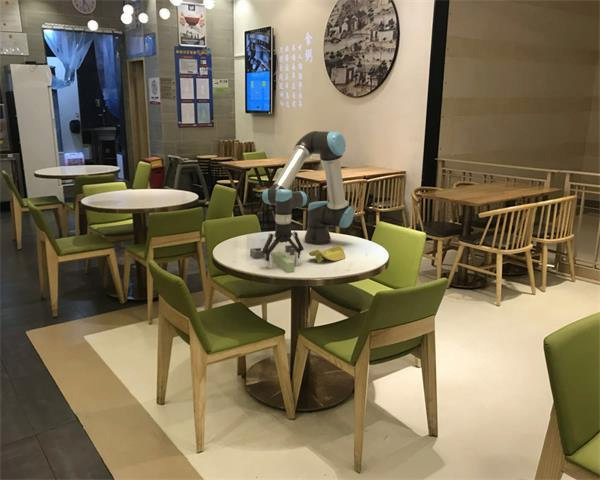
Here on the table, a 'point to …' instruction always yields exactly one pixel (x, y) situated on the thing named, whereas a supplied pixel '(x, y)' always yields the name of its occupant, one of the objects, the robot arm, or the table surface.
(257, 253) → the end caps
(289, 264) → the slat
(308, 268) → the table surface
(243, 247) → the table surface
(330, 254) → the plastic component
